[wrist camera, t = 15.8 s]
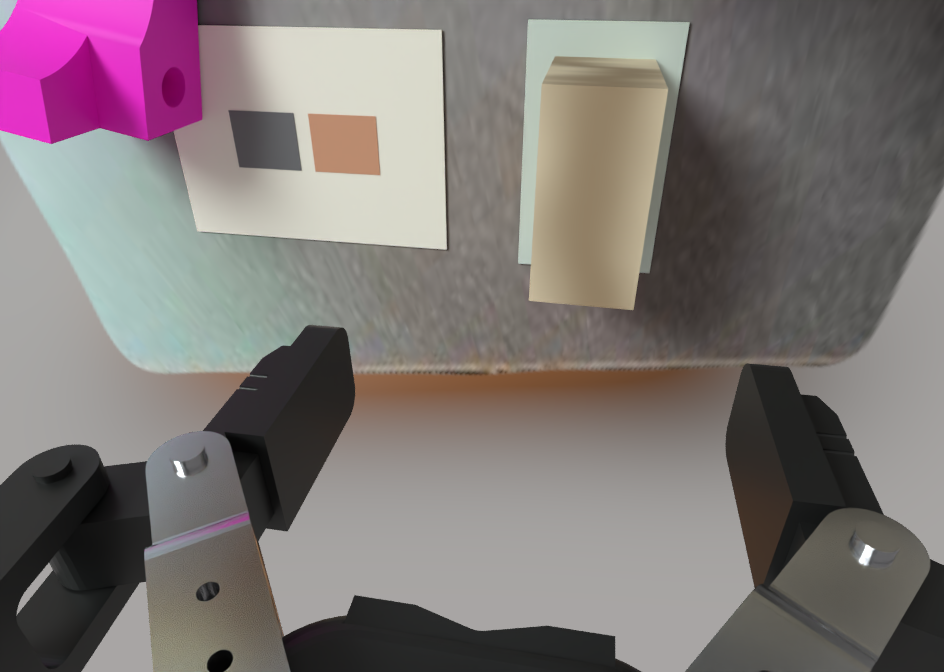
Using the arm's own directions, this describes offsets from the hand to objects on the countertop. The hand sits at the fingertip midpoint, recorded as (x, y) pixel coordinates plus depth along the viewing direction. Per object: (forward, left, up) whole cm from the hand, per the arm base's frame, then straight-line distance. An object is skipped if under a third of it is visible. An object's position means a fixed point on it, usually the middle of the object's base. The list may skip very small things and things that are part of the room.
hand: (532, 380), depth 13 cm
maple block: (+1, +1, -21) cm, 21 cm away
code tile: (+1, -14, -21) cm, 25 cm away
